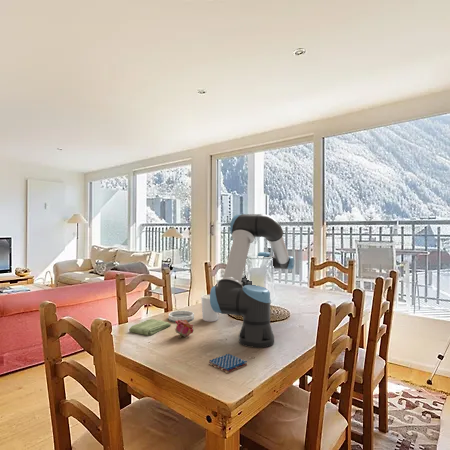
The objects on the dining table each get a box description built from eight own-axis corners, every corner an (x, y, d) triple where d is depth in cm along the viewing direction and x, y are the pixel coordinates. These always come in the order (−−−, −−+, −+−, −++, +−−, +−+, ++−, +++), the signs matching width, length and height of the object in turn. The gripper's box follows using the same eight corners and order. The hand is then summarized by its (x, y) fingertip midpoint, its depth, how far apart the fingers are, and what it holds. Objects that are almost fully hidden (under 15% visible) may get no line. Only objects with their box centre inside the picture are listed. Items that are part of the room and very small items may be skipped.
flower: (185, 338, 140) (193, 321, 144) (166, 332, 143) (174, 314, 147) (191, 344, 148) (198, 328, 152) (173, 338, 151) (180, 321, 155)
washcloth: (172, 326, 163) (172, 320, 163) (149, 337, 148) (149, 330, 148) (151, 323, 169) (151, 316, 169) (126, 333, 153) (126, 326, 153)
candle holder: (217, 322, 169) (217, 299, 169) (198, 321, 171) (199, 298, 171) (221, 317, 179) (221, 295, 179) (203, 316, 181) (204, 294, 181)
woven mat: (228, 357, 126) (228, 352, 126) (248, 366, 118) (248, 360, 118) (206, 365, 119) (207, 359, 119) (227, 375, 111) (227, 369, 111)
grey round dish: (187, 323, 167) (187, 318, 167) (164, 321, 171) (164, 316, 171) (197, 316, 180) (197, 311, 180) (175, 314, 184) (175, 309, 184)
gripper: (268, 289, 186) (240, 295, 172) (237, 283, 205) (210, 287, 191) (268, 276, 186) (240, 280, 172) (237, 271, 205) (210, 274, 191)
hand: (224, 284), depth 182 cm, fingers open, 13 cm apart
